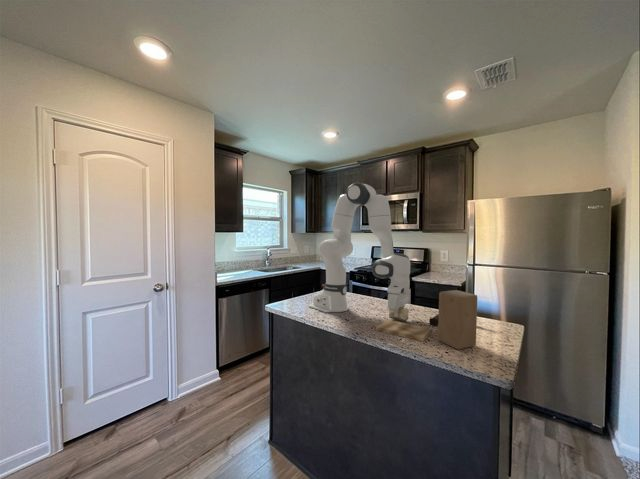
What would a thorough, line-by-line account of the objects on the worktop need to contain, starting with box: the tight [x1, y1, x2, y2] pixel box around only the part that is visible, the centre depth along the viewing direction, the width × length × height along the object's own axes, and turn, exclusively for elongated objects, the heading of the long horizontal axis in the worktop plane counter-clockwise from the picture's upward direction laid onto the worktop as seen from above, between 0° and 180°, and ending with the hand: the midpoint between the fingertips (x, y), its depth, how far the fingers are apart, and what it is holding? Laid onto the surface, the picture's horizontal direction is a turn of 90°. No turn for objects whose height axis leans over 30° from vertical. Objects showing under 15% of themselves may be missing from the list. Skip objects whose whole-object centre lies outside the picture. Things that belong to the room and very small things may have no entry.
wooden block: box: [437, 289, 478, 350], centre depth 106 cm, size 10×10×20 cm
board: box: [375, 319, 432, 342], centre depth 119 cm, size 20×13×2 cm, turn 54°
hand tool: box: [428, 313, 439, 327], centre depth 133 cm, size 19×4×5 cm, turn 136°
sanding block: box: [388, 307, 410, 322], centre depth 133 cm, size 8×4×5 cm, turn 55°
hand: (398, 315), depth 133 cm, fingers closed on sanding block, 4 cm apart
